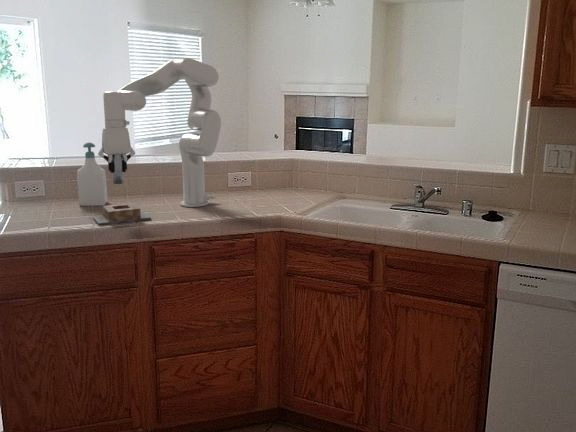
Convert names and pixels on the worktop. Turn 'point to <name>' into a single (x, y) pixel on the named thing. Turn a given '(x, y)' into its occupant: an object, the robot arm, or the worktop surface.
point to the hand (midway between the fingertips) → (117, 171)
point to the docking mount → (120, 214)
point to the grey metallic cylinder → (118, 168)
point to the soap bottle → (91, 181)
